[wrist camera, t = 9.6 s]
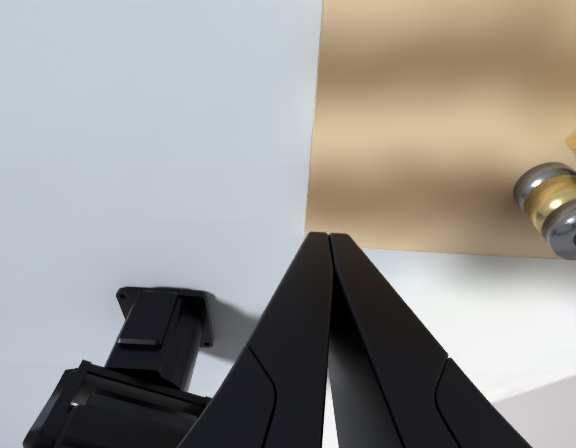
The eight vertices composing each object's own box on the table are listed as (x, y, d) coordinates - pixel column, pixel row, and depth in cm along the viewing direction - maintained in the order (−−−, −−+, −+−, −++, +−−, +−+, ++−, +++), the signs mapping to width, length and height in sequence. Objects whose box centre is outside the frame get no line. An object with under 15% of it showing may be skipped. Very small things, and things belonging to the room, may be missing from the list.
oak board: (626, 251, 23) (637, 262, 22) (304, 234, 23) (304, 245, 22) (1067, -274, 10) (1130, -291, 9) (347, -301, 10) (350, -319, 10)
